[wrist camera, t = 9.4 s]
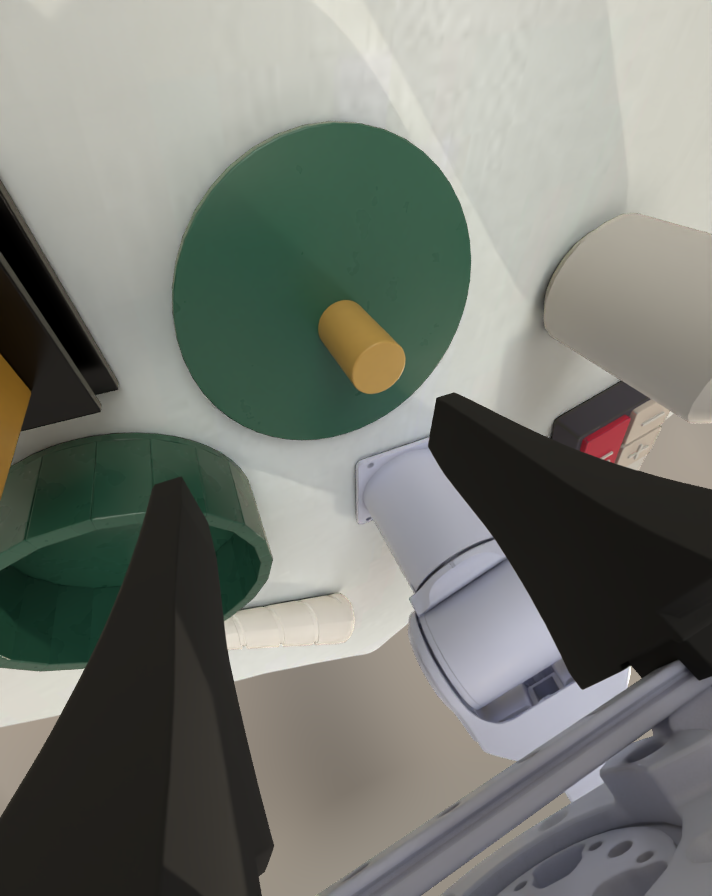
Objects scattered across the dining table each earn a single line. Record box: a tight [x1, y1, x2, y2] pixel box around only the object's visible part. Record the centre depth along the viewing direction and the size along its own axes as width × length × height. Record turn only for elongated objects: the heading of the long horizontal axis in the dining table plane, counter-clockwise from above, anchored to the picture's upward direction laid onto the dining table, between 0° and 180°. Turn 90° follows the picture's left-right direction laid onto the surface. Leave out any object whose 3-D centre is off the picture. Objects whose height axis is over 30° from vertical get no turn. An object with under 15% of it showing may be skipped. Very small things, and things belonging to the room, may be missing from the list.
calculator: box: [552, 381, 670, 471], centre depth 39 cm, size 11×4×15 cm
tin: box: [0, 433, 273, 671], centre depth 20 cm, size 13×13×5 cm
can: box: [543, 213, 712, 424], centre depth 19 cm, size 8×8×12 cm
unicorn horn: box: [224, 593, 355, 650], centre depth 32 cm, size 5×24×5 cm, turn 56°
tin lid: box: [172, 121, 471, 440], centre depth 16 cm, size 14×14×5 cm
